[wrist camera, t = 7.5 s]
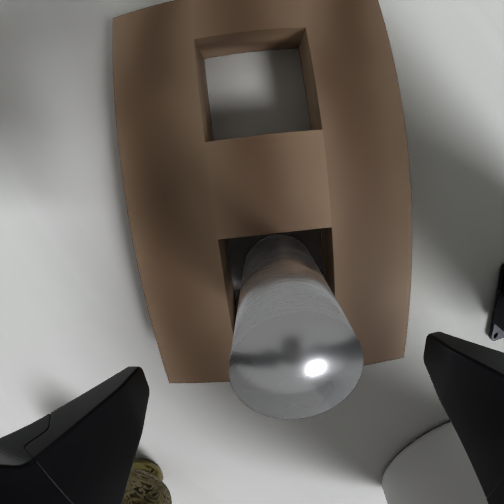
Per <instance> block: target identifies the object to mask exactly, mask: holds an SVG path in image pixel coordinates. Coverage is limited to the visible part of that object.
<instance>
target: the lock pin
mask: <svg viewBox="0 0 504 504" xmlns="http://www.w3.org/2000/svg"><path fill="white" fill-rule="evenodd" d="M362 368H363V352H362V347H361V345H360V342H359V340H358V338H357V336H356V335H355V333H354V331H353V329H352V327H351V325H350V323H349V322H348V320H347V318H346V316H345V314H344V312H343V311H342V309H341V307H340V305H339V303H338V302H337V300H336V298H335V296H334V294H333V293H332V291H331V289H330V287H329V286H328V284H327V282H326V280H325V278H324V277H323V275H322V273H321V271H320V270H319V268H318V266H317V265H316V263H315V261H314V259H313V258H312V256H311V254H310V252H309V251H308V249H307V248H306V247H305V245H304V244H303V243H301V242H300V241H299V240H297V239H295V238H293V237H291V236H287V235H271V236H268V237H265V238H263V239H261V240H260V241H258V242H257V243H256V244H254V246H253V247H252V248H251V249H250V251H249V252H248V254H247V256H246V259H245V264H244V270H243V276H242V283H241V289H240V296H239V302H238V309H237V315H236V322H235V328H234V335H233V341H232V348H231V354H230V361H229V379H230V382H231V386H232V388H233V390H234V392H235V393H236V395H237V396H238V397H239V399H240V400H241V401H242V402H243V403H244V404H246V405H247V406H248V407H250V408H251V409H253V410H254V411H256V412H258V413H261V414H263V415H266V416H269V417H273V418H279V419H301V418H307V417H311V416H315V415H318V414H320V413H323V412H325V411H327V410H329V409H331V408H333V407H334V406H336V405H337V404H339V403H340V402H341V401H342V400H344V399H345V398H346V397H347V396H348V395H349V394H350V392H351V391H352V390H353V389H354V387H355V385H356V384H357V382H358V380H359V378H360V375H361V372H362Z"/></svg>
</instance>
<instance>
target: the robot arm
mask: <svg viewBox="0 0 504 504" xmlns="http://www.w3.org/2000/svg"><path fill="white" fill-rule="evenodd" d="M489 338H490V339H491V340H492V341H495V340H498V339H501V338H504V264H503V265H502V266H501V269H500V276H499V283H498V290H497V297H496V303H495V308H494V314H493V319H492V324H491V328H490V333H489ZM424 363H425V365H426V368H427V370H428V373H429V375H430V378H431V380H432V383H433V385H434V388H435V390H436V393H437V395H438V397H439V399H440V401H441V403H442V405H443V407H444V409H445V411H446V413H447V415H448V417H449V419H450V421H451V423H452V425H453V427H454V429H455V431H456V433H457V435H458V437H459V439H460V441H461V443H462V445H463V447H464V449H465V451H466V453H467V456H468V458H469V460H470V462H471V464H472V466H473V469H474V471H475V473H476V475H477V478H478V480H479V482H480V485H481V487H482V489H483V492H484V494H485V497H486V500H487V502H488V504H504V353H503V352H500V351H496V350H493V349H490V348H487V347H484V346H481V345H478V344H475V343H472V342H469V341H466V340H463V339H460V338H457V337H454V336H451V335H448V334H445V333H442V332H435V333H431V334H429V335H428V336H427V338H426V344H425V350H424ZM148 398H149V386H148V383H147V381H146V378H145V375H144V372H143V370H142V368H140V367H127V368H126V369H124V370H122V371H121V372H119V373H117V374H116V375H114V376H112V377H111V378H109V379H107V380H106V381H104V382H102V383H101V384H99V385H97V386H96V387H94V388H92V389H91V390H89V391H87V392H86V393H84V394H82V395H81V396H79V397H77V398H75V399H74V400H72V401H70V402H69V403H67V404H65V405H64V406H62V407H60V408H58V409H57V410H55V411H53V412H51V414H48V415H46V416H44V417H43V418H41V419H39V420H37V421H35V422H33V423H32V424H30V425H28V426H26V427H24V428H21V429H19V430H17V431H15V432H13V433H11V434H8V435H6V436H4V437H2V438H0V504H122V501H123V497H124V493H125V490H126V486H127V483H128V479H129V476H130V472H131V469H132V465H133V462H134V458H135V455H136V451H137V448H138V445H139V441H140V438H141V435H142V431H143V426H144V420H145V414H146V409H147V404H148Z"/></svg>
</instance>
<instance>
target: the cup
mask: <svg viewBox="0 0 504 504" xmlns="http://www.w3.org/2000/svg"><path fill="white" fill-rule="evenodd" d="M162 480H163V473H162V471H161V469H160V468H159V467H158V466H157V465H155V464H154V463H152V462H150V461H147V460H143V459H134V462H133V465H132V469H131V472H130V476H129V479H128V483H127V486H126V490H125V493H124V497H123V501H122V504H172V501H171V495H170V492H169V490H168V488H167V487H166V485H165V484H164V483H163V482H162Z"/></svg>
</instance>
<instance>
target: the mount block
mask: <svg viewBox="0 0 504 504" xmlns="http://www.w3.org/2000/svg"><path fill="white" fill-rule="evenodd" d="M294 48H299V53H300V59H301V65H302V71H303V77H304V83H305V90H306V96H307V103H308V110H309V118H310V125H311V130H309V131H296V132H284V133H273V134H264V135H255V136H246V137H238V138H231V139H223V140H217V141H213V134H212V126H211V117H210V108H209V100H208V91H207V82H206V73H205V63H204V58H210V57H216V56H223V55H230V54H237V53H246V52H255V51H265V50H277V49H294ZM113 78H114V98H115V112H116V124H117V135H118V145H119V154H120V162H121V170H122V178H123V185H124V192H125V198H126V205H127V211H128V217H129V222H130V228H131V234H132V239H133V244H134V249H135V254H136V259H137V264H138V268H139V273H140V277H141V282H142V286H143V290H144V295H145V299H146V303H147V307H148V311H149V315H150V319H151V322H152V326H153V330H154V333H155V337H156V341H157V344H158V348H159V351H160V355H161V358H162V361H163V365H164V368H165V371H166V374H167V377H168V380H169V383H206V382H228V381H230V379H229V361H230V354H231V348H232V341H233V335H234V328H235V322H236V315H237V309H236V303H235V296H234V289H233V283H232V276H231V269H230V262H229V255H228V248H227V241H226V239H228V238H237V237H246V236H255V235H264V234H273V233H282V232H291V231H301V230H310V229H320V228H321V235H322V250H323V267H324V278H325V280H326V282H327V284H328V286H329V287H330V289H331V291H332V293H333V294H334V296H335V298H336V300H337V302H338V303H339V305H340V307H341V309H342V311H343V312H344V314H345V316H346V318H347V320H348V322H349V323H350V325H351V327H352V329H353V331H354V333H355V335H356V336H357V338H358V340H359V342H360V345H361V347H362V352H363V366H364V365H369V364H374V363H379V362H384V361H389V360H394V359H398V358H403V357H404V352H405V344H406V336H407V326H408V316H409V304H410V289H411V269H412V205H411V184H410V169H409V157H408V147H407V138H406V130H405V122H404V115H403V108H402V102H401V96H400V90H399V84H398V79H397V74H396V69H395V64H394V59H393V55H392V50H391V46H390V42H389V38H388V34H387V30H386V26H385V23H384V19H383V16H382V12H381V9H380V5H379V2H378V0H174V1H170V2H166V3H162V4H158V5H154V6H151V7H147V8H144V9H140V10H137V11H134V12H130V13H127V14H124V15H121V16H118V17H115V18H113Z"/></svg>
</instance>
